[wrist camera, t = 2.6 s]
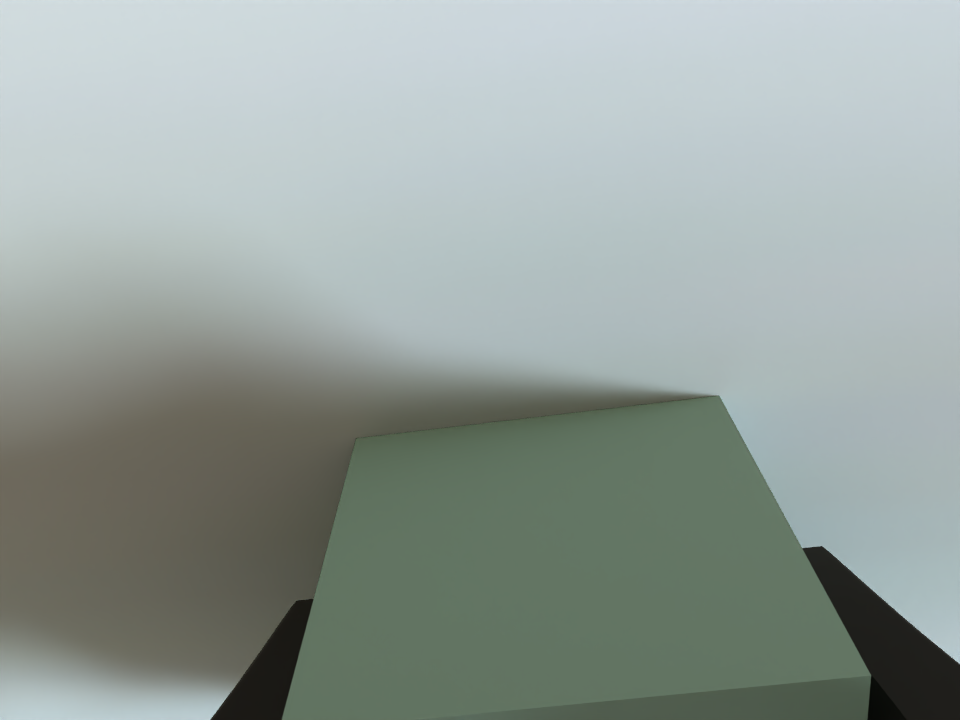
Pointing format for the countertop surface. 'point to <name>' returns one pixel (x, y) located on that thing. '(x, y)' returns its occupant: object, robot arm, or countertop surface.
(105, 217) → the countertop surface
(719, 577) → the green cube
